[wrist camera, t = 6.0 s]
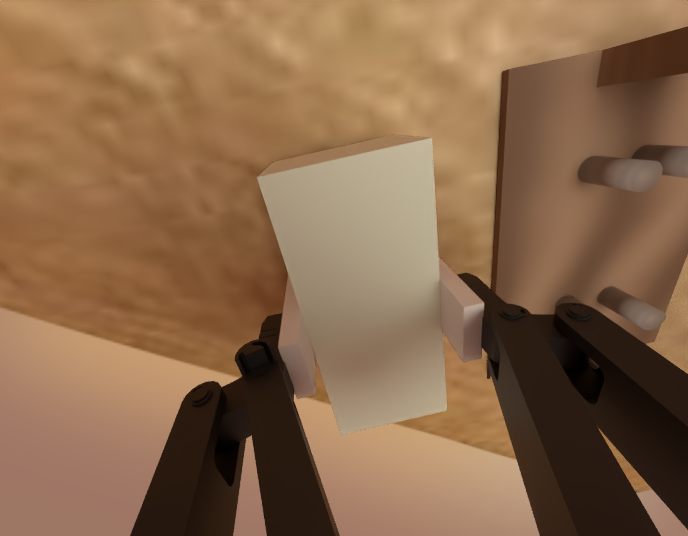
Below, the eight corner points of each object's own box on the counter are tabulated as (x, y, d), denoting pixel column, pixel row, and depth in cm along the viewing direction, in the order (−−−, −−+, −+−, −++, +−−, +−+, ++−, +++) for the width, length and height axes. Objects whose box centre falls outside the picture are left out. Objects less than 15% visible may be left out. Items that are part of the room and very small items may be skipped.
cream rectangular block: (334, 367, 20) (341, 435, 16) (273, 161, 14) (256, 177, 10) (416, 348, 20) (447, 410, 16) (393, 134, 14) (431, 137, 10)
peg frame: (487, 371, 23) (602, 530, 14) (502, 71, 14) (852, -39, 5) (647, 337, 23) (866, 471, 14) (762, 18, 14) (1566, -184, 5)
